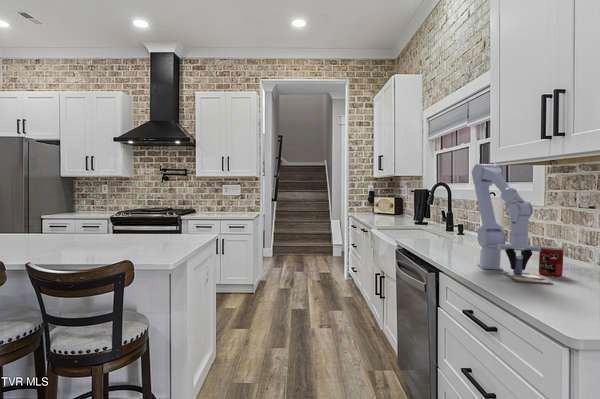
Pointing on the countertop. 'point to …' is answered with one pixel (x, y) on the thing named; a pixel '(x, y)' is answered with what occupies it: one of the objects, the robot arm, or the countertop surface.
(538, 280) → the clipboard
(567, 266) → the countertop surface
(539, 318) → the countertop surface
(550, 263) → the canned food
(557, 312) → the countertop surface
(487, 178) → the robot arm
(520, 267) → the blue-grey cylinder
